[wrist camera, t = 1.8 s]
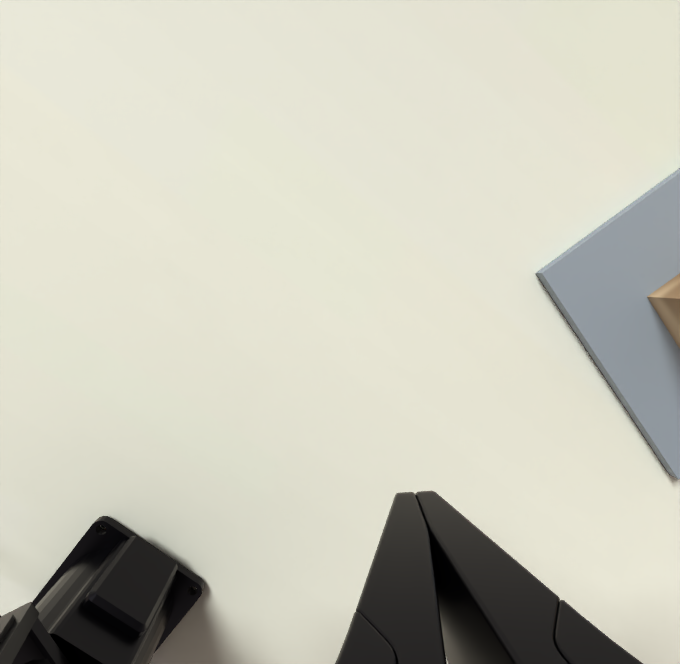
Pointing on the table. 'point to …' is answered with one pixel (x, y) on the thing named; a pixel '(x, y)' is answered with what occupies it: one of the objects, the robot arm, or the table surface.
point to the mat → (629, 310)
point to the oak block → (668, 306)
